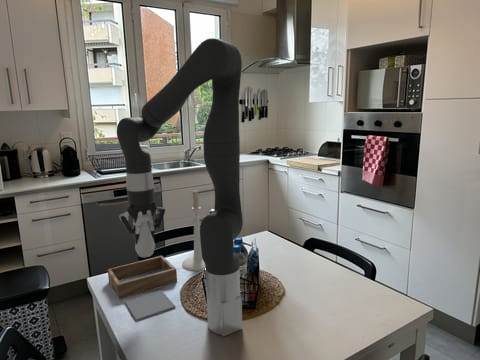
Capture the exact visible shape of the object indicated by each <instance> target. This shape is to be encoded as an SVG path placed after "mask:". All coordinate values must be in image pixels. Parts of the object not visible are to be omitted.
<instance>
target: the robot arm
mask: <svg viewBox="0 0 480 360" xmlns="http://www.w3.org/2000/svg"><path fill="white" fill-rule="evenodd" d="M239 50H240V49H239V48H238V47H237V46H236V45H235V44H233V43H231V42H228V41H225V40H223V39H220V38H217V37H210V38H207V39H206V38H205V40H203V41H202V42H201V43H200V44H199V45H198V46H197V47H196V48H195V49H194V51H193V52H192V53H191V54H190V55H189V57H188V58H187V60H185V62H184V64H183V65H182V66H181V67H180V68H179V70H178V71H177V72H176V73H175V74H174V76H172V78H171V79H170V80H169V81H168V82H167V84H165V86H163V88H161V89H160V90H159V91H158V92H157V93H156V94H155V95H153V97H151V98H150V99H149V100H148V101H147V102H146V103H144V105H143V106H142V108H141V115H140V116H137V117H133V116H132V117H124V118H122V119H120V120H119V121H118V123H117V126H116V136H117V140H118V143H119V146H120V149H121V153H122V154H123V157H124V159H125V162H124V163H125V172H126V175H125V177H126V178H125V182H126V183H125V185H126V186H125V187H126V193H127V194H126V195H127V203H128V204H127V205H128V206H127V209H126V211H125V212H123V213H121V214H119V215H118V218H119V219H120V222H121V223H122V225H123V226H124V228H125V230H126V231H127V232H128V233H129V234H133V238H134V239H133V241H134V242H133V243H135V244H137V242H138V241H139V232H140V226H141V221H140V220H139V219H140V218H141V217H142V214H147V216H148V217H149V221H148V223H149V226H150V230H151V235H152V238H153V240H154V241H155V239H156V238H155V230H156V229H159V228H161V225H162V222H163V220H164V219H163V218H164V216H165V213H166V209H165V208H163V207H161V206H160V207H159V206H157V205H156V203H155V201H156V198H155V184H154V177H153V172H152V168H153V167H152V160H151V158H152V157H151V155H150V153H149V151H146V150H143V149H142V147H141V144H140V143H144V142H147V141H149V140H151V139H153V137H154V136H155V135H157V133H158V132H159V130H160V129H161V127H162V126H163V125H164V124H166V122H168V121H169V120H170V119H172V118H173V117H174V116H175V115H176V114H177V113H179V111H180V110H181V109H182V108H183V106H184V105H185V104H186V102H187V100H188V98H189V96H191V94H192V93H193V92H194V91H195V90H197V89H198V88H199V87H201V86H202V85H204V84H205V83H207V82H209V81H211V83H212V100H211V102H212V103H211V106H210V111H209V114H208V117H207V119H206V123H205V127H204V132H203V142H202V143H203V160H204V161H203V162H204V165H205V168H206V170H207V173H208V175H209V177H210V179H211V183H212V185H213V189H214V190H213V191H214V208H213V209H214V210H213V211H212V212H210V213H208V214H207V215H205V217H203V218H202V220H201V222H200V242H201V252H202V258H203V261H204V263H205V268H206V270H205V285H206V286H205V288H206V313H207V314H206V315H207V327H208V330H209V331H210V332H212V333H214V334H217V335H220V336H222V337H226V336H228V335H229V336H230V335H231V334H233V333H235V332H238V331H241V330H242V329H243V304H242V303H243V301H242V296H241V287H240V286H241V282H240V281H241V278H240V277H241V276H240V266H241V265H240V258H239V256H238V255H237V254H236V253H234V246H233V245H234V244H233V241H234V240H235V239H237V238H238V236H239V235H241V232H242V231H243V226H244V225H243V222H244V221H243V212H242V210H243V209H242V204H241V203H242V201H241V193H240V181H241V180H240V178H241V177H240V170H241V169H240V165H241V163H240V162H241V161H240V157H241V155H240V154H241V150H240V149H241V148H240V146H241V145H240V143H241V142H240V90H241V89H240V88H241V87H240V86H241V77H242V66H243V64H242V63H243V61H242V55H241V53H240V51H239ZM154 214H156V215H155V218H154V219H153V216H154ZM129 216H130V217H131V218H132V219H133V222H132V224H133V227H132V226H131V225H130V222H129Z"/></svg>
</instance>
